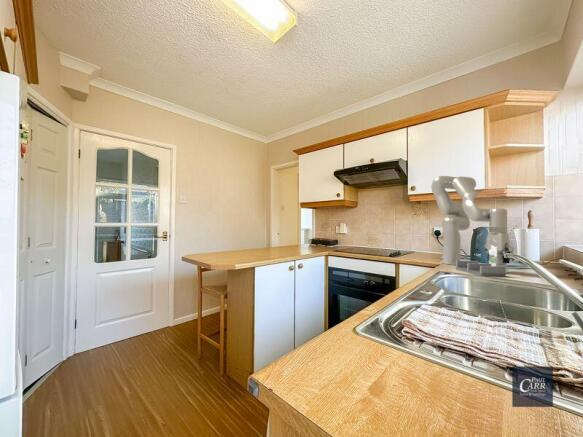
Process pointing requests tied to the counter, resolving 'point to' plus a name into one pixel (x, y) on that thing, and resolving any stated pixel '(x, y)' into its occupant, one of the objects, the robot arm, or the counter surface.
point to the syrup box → (496, 258)
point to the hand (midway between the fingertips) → (497, 261)
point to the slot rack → (480, 268)
